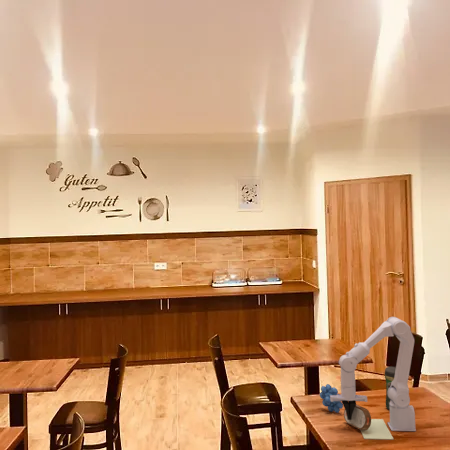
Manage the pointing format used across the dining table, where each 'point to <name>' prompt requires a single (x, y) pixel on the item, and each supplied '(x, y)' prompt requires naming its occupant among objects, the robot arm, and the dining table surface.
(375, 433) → the mat
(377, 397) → the dining table surface
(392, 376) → the coffee jar
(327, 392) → the grapes
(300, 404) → the dining table surface
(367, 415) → the tin
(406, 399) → the robot arm
